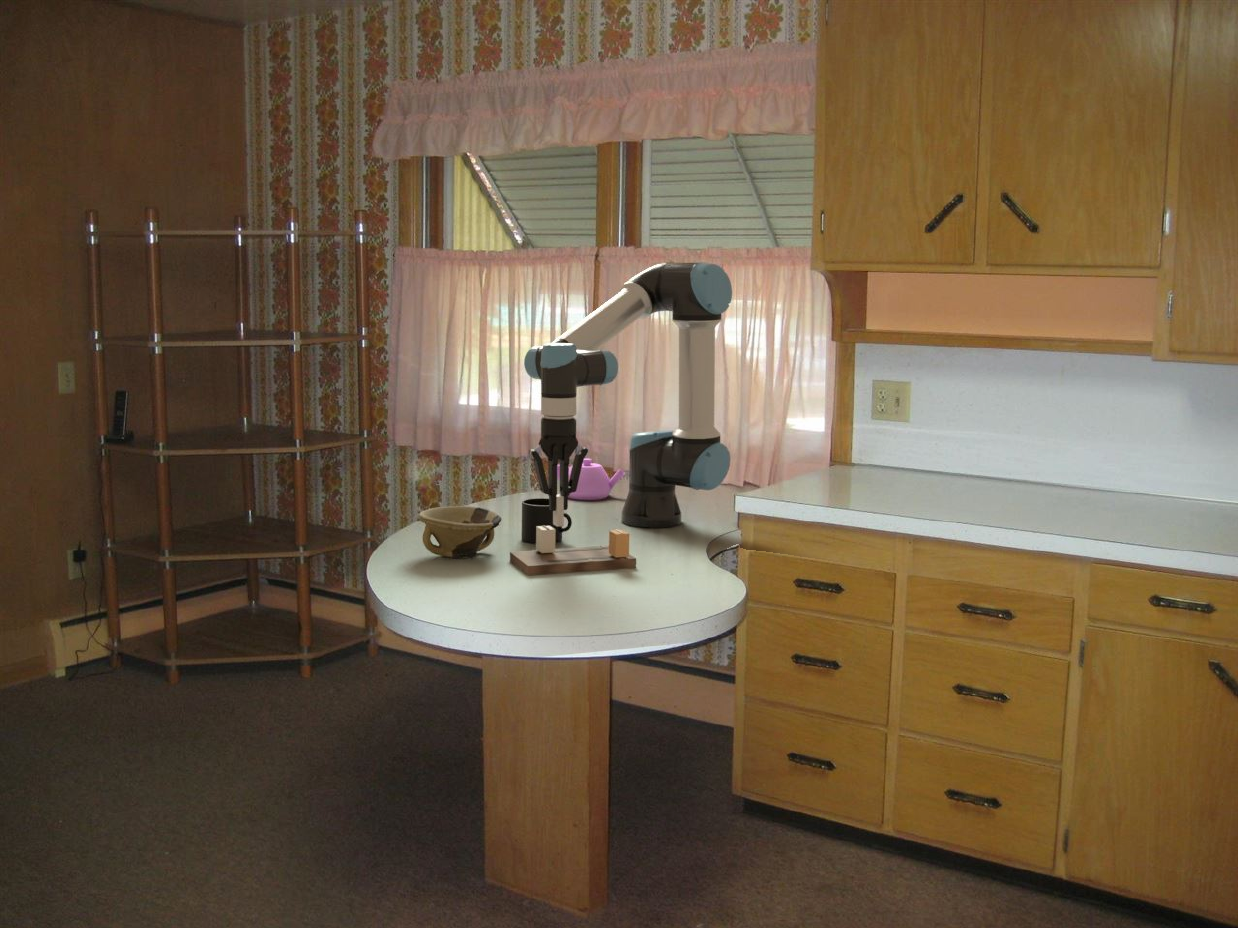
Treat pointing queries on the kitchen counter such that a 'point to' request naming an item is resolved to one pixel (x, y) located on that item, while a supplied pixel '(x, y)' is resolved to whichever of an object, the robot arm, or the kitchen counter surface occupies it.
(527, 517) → the mug
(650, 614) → the kitchen counter surface
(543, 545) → the cream fader knob
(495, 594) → the kitchen counter surface
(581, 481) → the teapot
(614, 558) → the console board
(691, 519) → the kitchen counter surface
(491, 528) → the bowl
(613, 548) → the orange fader knob
